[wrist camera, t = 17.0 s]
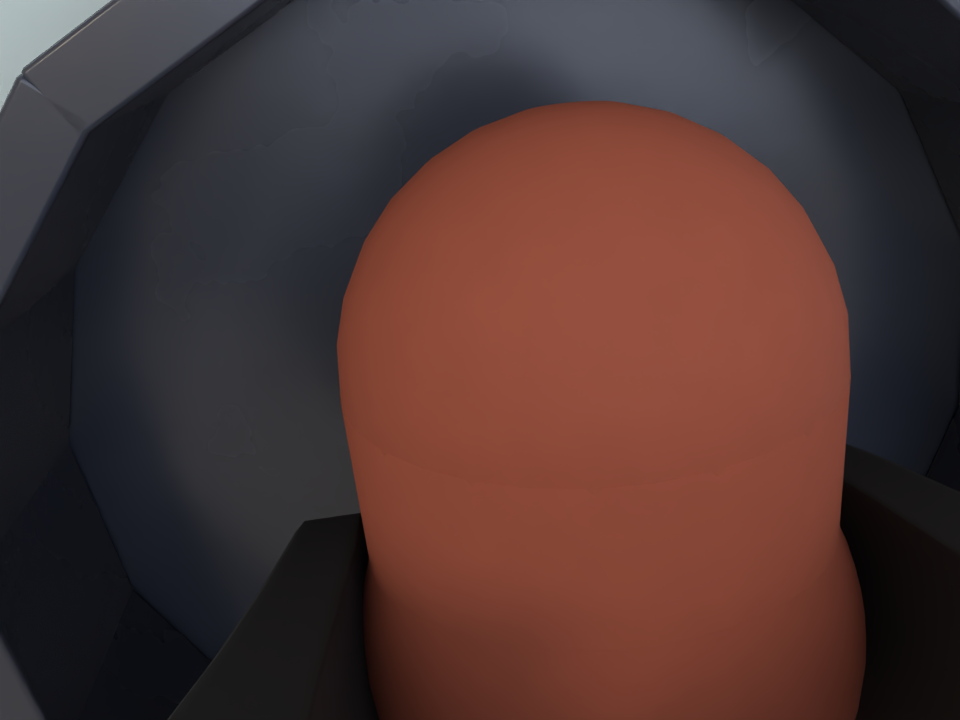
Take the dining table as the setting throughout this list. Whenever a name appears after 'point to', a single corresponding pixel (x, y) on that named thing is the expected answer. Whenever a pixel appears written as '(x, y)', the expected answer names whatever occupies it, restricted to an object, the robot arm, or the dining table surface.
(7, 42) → the dining table surface
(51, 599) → the pan
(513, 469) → the sweet potato
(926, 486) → the robot arm
